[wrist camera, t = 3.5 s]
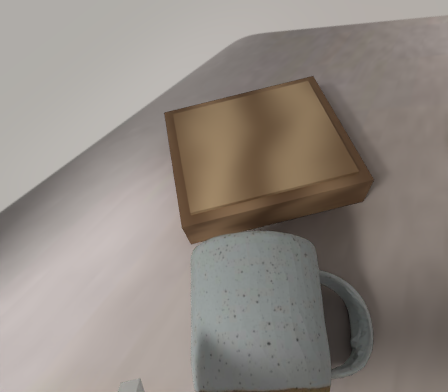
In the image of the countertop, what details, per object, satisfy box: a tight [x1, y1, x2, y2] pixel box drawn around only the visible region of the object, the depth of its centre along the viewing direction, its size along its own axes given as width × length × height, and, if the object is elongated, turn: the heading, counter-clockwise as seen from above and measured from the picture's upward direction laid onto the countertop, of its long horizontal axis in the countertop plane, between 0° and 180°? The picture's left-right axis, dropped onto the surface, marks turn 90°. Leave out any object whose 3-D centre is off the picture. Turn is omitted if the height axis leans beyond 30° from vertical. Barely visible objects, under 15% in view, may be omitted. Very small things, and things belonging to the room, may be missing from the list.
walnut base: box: [164, 76, 374, 244], centre depth 27 cm, size 14×12×3 cm
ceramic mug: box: [191, 231, 373, 392], centre depth 18 cm, size 11×8×8 cm
